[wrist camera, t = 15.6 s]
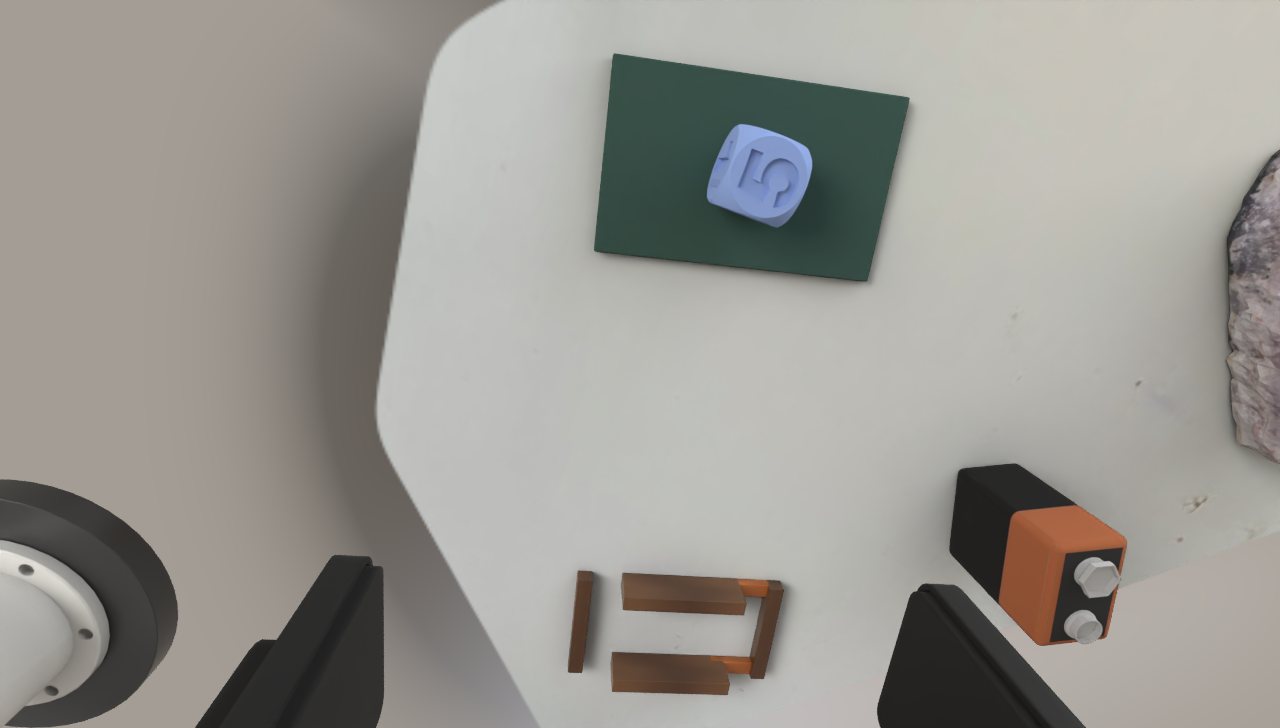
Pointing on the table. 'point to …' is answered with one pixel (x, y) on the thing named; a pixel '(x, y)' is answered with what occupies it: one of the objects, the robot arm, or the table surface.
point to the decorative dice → (760, 175)
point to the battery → (1037, 554)
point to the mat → (690, 143)
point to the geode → (1256, 314)
